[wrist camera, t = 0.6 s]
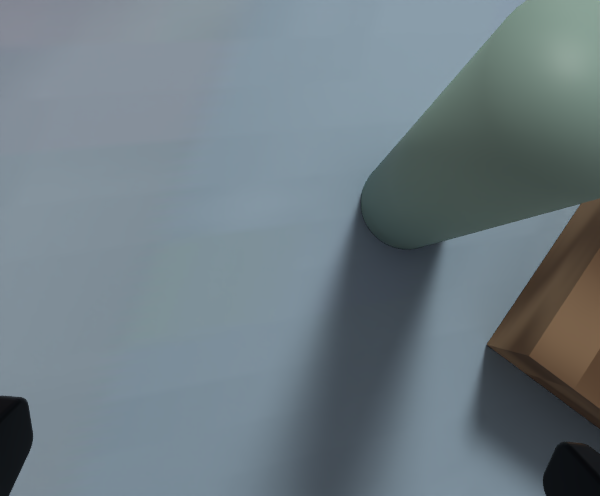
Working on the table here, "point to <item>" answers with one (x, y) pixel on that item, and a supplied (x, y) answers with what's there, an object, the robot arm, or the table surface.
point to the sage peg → (499, 134)
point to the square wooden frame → (561, 318)
